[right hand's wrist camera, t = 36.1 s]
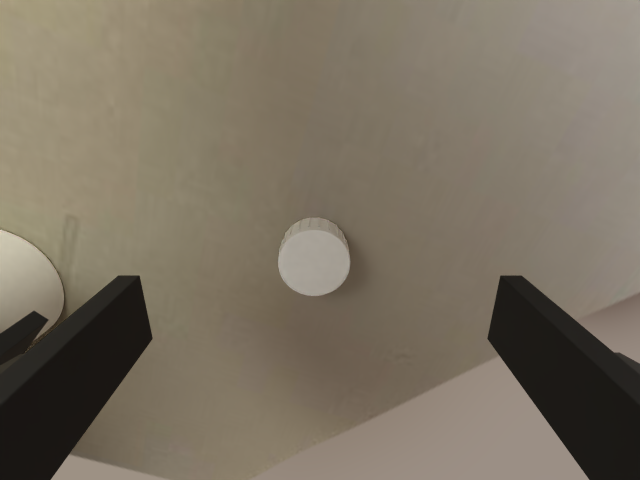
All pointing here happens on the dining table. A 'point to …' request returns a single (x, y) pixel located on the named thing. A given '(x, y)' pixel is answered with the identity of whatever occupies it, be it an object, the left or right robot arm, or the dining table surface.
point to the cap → (314, 257)
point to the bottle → (27, 283)
